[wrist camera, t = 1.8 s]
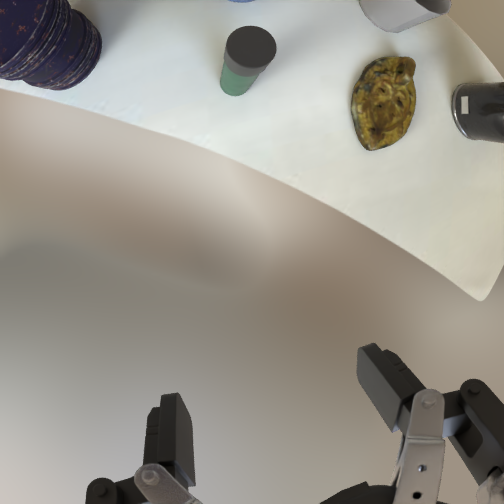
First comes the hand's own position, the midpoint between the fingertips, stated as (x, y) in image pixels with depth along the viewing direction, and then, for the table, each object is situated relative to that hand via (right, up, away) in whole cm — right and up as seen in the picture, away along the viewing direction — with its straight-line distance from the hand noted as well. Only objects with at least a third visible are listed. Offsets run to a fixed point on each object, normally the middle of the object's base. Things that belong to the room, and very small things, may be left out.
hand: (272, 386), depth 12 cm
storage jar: (-24, +30, +14) cm, 41 cm away
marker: (-3, +25, +19) cm, 31 cm away
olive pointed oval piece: (+16, +25, +21) cm, 37 cm away
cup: (+18, +40, +16) cm, 47 cm away
